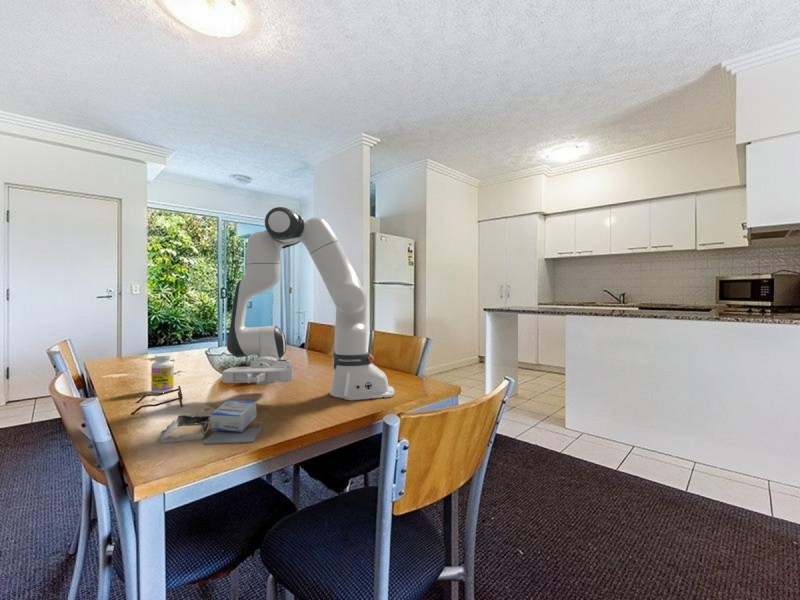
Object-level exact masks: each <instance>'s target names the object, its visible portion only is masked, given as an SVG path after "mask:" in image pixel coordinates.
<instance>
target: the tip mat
mask: <svg viewBox="0 0 800 600" xmlns="http://www.w3.org/2000/svg"><path fill="white" fill-rule="evenodd" d="M262 429H263V426H262V421H251V422H250V424H249V425H248V426H247V427H246V428H245V429H244V430H243V431H242V432H239V431H224V430H214V432H213V433H212V434H211V435H210V436H209V437H208V438H207V439H205V440H204V442H203V445H221V444H243V443H244V444H246V443H247V444H248V443H254V442H255V440H256V439H257V437H258V436H259V434H260V432H262Z"/></svg>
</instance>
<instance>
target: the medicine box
mask: <svg viewBox="0 0 800 600" xmlns="http://www.w3.org/2000/svg"><path fill="white" fill-rule="evenodd" d="M210 415H211V418H210V429H211V431H216V430H224V431H239V432H242V431H243V430H244V429H245V428H246V427H247V426H248V425H249V424H250V422H253V421H254V419H255V418H257V402H256V401H255V400H240V399H239V400H235V399H234V400H233V399H227V400H226V401H224V403H222V404H221V405H220V406H219V407H217V408H215V410H213V411H212V412H211V413H210Z"/></svg>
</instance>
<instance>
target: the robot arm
mask: <svg viewBox="0 0 800 600" xmlns="http://www.w3.org/2000/svg"><path fill="white" fill-rule="evenodd" d="M264 226H265V230H264V231H257V232H254V233H252V234H251V235H249V237H248V239H247V244H246V250H245V251H246V252H245V254H246V255H245V264H246V267H245V271H244V272H245V273H244V276H243V277H242V279H241V280H239V281H238V282H237V283H236V286H235V289H234V295H233V301H232V311H231V315H230V325H229V329H228V334H227V339H226V350H227V351H228V352H229V353H230V354H231V355H232V356H234V357H235V358H244V357H249V356H257V357H256V359H253V361H251V363H250V364H249V366H233V367H230V368H226V369H224V370H223V371H222V373H221V374H222V375H221V378H222V383H224V384H237V383H238V384H241V383H244V384H246V383H247V384H256V385H258V386H266V385H268V384H273V383H281V382H283V383H287V382H291V381H293V365H292V362H291V360H289V359H284V355H285V354H286V353H287V352H286V349H287V341H286V340H287V339H286V335H285V333H284V332H283V330H282V329H281V328H280V327H279V326H277V325H267V326H265V325H264V326H255V327H254V326H253V327H248V326H245V324H246V316H247V309H248V304H249V302H250V300H251V299H253V297H256V296H258V295H260V294H262V293H264V292H267V291H269V290H271V289H272V288H274V287H275V286H276V285H277V284H278V283H279V281H280V279H281V271H282V270H281V250H283V249H286V248H289V247H293V246H295V245H297V244H300V243H301V244H303V245H304V247H305V249H306V250H307V251H308V254H309V256H310V257H311V260H312V262H313V263H314V265H315V266H316V269H317V270H318V273H319V275H320V276H321V278H322V281H323V283H324V285H325V287H326V289H327V291H328V294H329V295H330V298H331V300H332V302H333V303H334V305H335V327H334V352H333V356H332V368H333V377H332V383H331V384H332V385H331V387H330V391H329V395H330V396H332V397H334V398H339V399H344V400H346V401H357V400H369V399H370V400H371V398H372V399H383V397H384V398H391V397H393V396H394V395H395V387H393V386H392V385H389V381H388V376H387V375H386V373H385V372H384V371H383V370H381V369H380V368H379V367H378V366H376V365H375V364H374V363H373V362H374V361H375V358H374V356H373V355H372V354H371V353H369V352H367V342H368V339H367V336H368V335H367V330H368V329H367V328H368V327H367V321H368V320H367V319H368V317H367V315H368V314H367V313H368V311H367V309H368V307H367V305H368V303H367V302H368V301H367V298H368V297H367V292H366V289H365V288H364V286H363V284H362V282H361V281H360V279H359V277H358V274H357V273H356V271H355V269H354V267H353V266H352V263H351V262H350V261H351V260H350V259H349V258H348V256H347V253H346V252H345V250H344V248H343V246H342V243H340V241H339V239H338V237H337V235H336V234H335V231H333V229H332V228H331V226H330V225H329V223H328V222H327V221H326V220H325V218H324V219H323V217H318V216H317V217H316V216H315V217H311V218H308V219H306V220H305V219H304V217H302V216H301V215H299V214H297V213H296V212H295V211H293V210H292V209H290V208H287V207H284V206H276V207H274V208H272V209H270V210H269V211H268V212H267V213H266V215H265V217H264ZM258 355H260V356H259V357H258Z"/></svg>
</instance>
